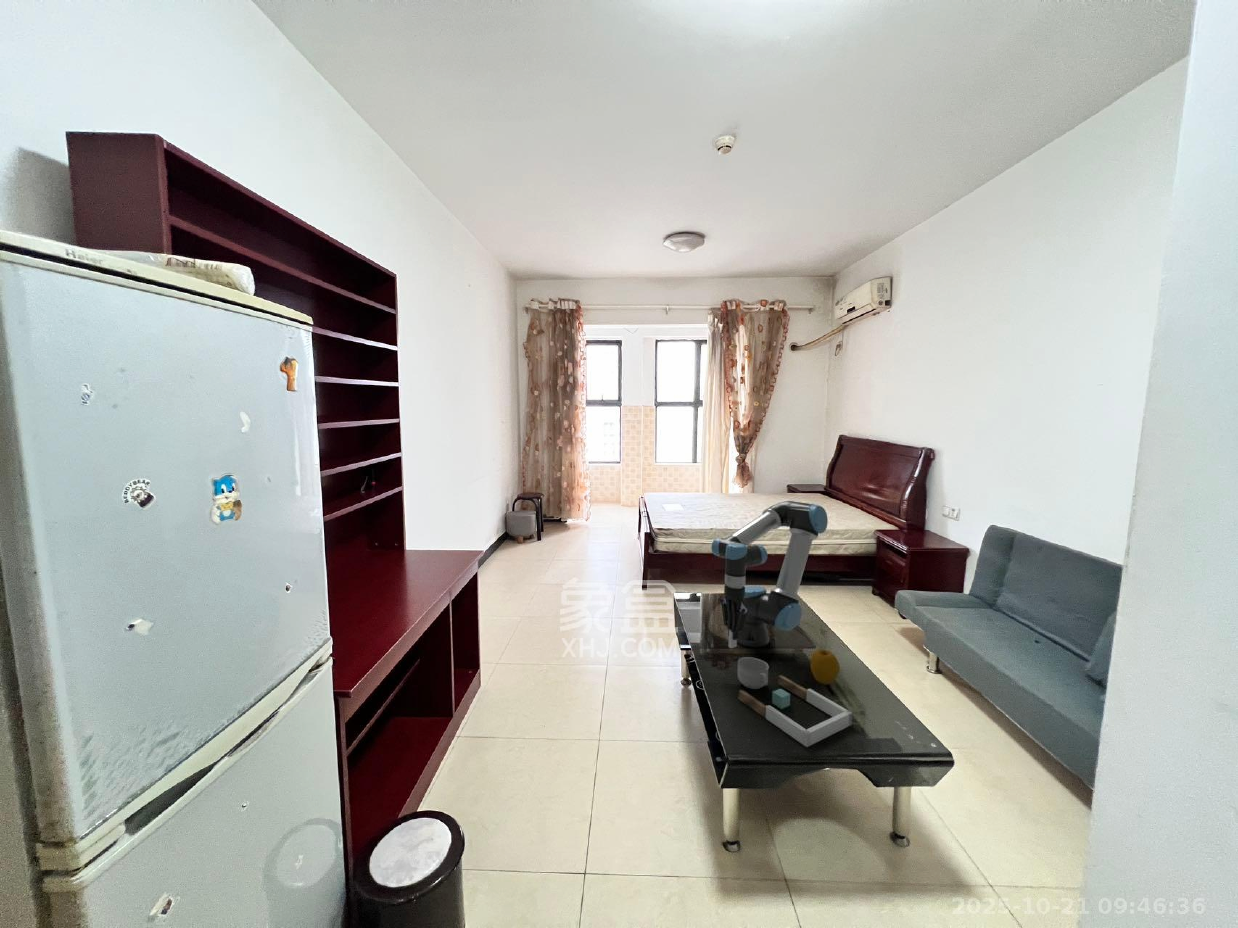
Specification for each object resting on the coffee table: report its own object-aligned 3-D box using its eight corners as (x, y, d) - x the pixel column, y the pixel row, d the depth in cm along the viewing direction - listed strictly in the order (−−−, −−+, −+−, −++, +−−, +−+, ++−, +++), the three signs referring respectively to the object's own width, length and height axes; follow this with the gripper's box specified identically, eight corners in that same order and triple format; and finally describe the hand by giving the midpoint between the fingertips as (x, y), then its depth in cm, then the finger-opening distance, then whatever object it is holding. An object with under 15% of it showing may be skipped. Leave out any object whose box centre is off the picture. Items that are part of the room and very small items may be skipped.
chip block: (772, 702, 157) (772, 691, 156) (780, 699, 159) (780, 688, 158) (781, 709, 153) (781, 697, 153) (789, 705, 155) (790, 694, 155)
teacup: (733, 677, 173) (733, 656, 172) (761, 676, 174) (761, 655, 173) (746, 698, 159) (747, 676, 158) (777, 697, 160) (777, 675, 159)
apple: (842, 681, 170) (844, 650, 169) (832, 692, 163) (833, 660, 162) (816, 671, 177) (817, 642, 176) (805, 681, 170) (806, 650, 169)
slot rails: (738, 699, 159) (738, 690, 158) (781, 682, 169) (781, 675, 169) (765, 718, 148) (765, 709, 148) (809, 699, 159) (809, 691, 158)
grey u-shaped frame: (765, 718, 148) (766, 706, 148) (809, 699, 159) (809, 688, 158) (806, 747, 135) (807, 734, 134) (851, 724, 145) (852, 712, 145)
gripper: (715, 581, 177) (713, 641, 179) (739, 592, 166) (737, 656, 167) (730, 579, 181) (727, 637, 182) (755, 589, 170) (752, 651, 171)
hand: (732, 646), depth 175 cm, fingers closed
